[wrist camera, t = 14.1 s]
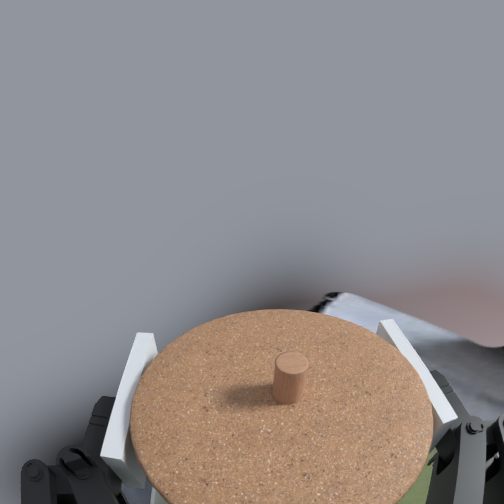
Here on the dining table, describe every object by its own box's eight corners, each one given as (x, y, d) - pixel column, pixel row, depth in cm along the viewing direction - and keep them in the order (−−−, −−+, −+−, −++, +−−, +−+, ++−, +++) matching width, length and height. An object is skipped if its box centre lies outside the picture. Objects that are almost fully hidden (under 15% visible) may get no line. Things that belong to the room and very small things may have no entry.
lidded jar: (177, 408, 17) (147, 281, 13) (341, 395, 18) (374, 271, 14) (170, 566, 7) (77, 525, 3) (394, 535, 8) (511, 446, 4)
